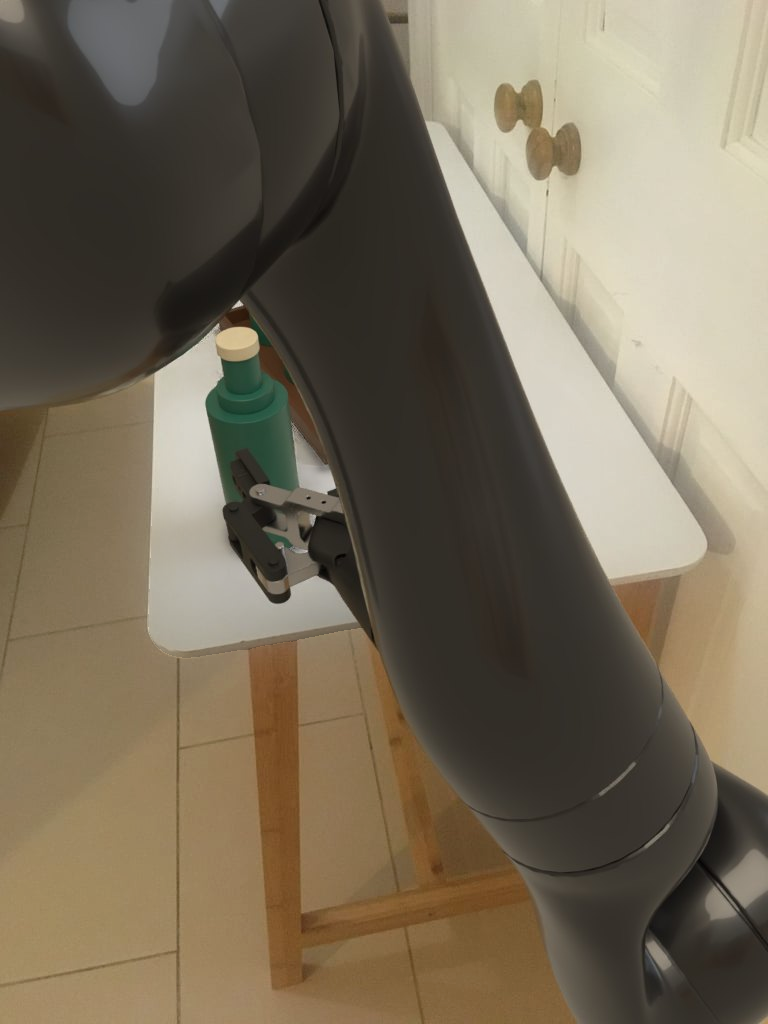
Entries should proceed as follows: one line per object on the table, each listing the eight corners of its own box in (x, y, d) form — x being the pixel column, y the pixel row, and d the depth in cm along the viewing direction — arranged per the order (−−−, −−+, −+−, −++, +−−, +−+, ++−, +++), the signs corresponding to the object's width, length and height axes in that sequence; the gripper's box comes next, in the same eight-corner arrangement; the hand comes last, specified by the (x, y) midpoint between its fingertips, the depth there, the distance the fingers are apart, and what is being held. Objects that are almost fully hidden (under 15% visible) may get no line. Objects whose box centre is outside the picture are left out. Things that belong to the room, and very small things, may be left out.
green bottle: (220, 547, 70) (177, 354, 58) (249, 499, 74) (215, 310, 62) (288, 560, 69) (259, 366, 56) (314, 511, 73) (292, 321, 60)
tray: (425, 428, 80) (425, 411, 79) (325, 464, 77) (324, 446, 76) (305, 304, 98) (303, 288, 97) (219, 329, 95) (216, 312, 93)
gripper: (577, 506, 42) (409, 350, 52) (306, 622, 37) (182, 424, 48) (561, 610, 47) (411, 448, 57) (321, 723, 42) (206, 524, 53)
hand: (307, 437), depth 52 cm, fingers open, 8 cm apart
